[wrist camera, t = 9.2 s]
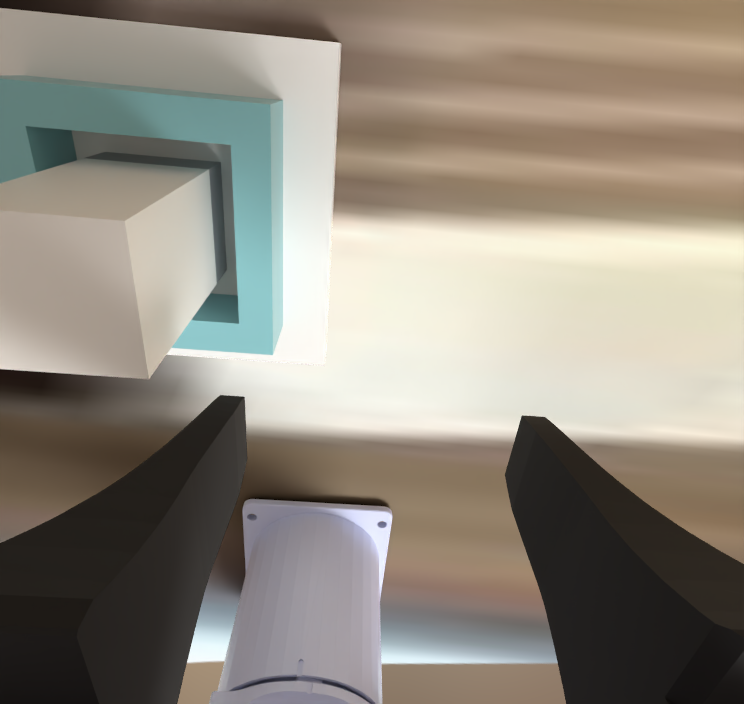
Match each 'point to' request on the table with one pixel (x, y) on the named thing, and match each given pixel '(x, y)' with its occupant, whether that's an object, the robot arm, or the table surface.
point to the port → (197, 152)
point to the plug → (107, 262)
